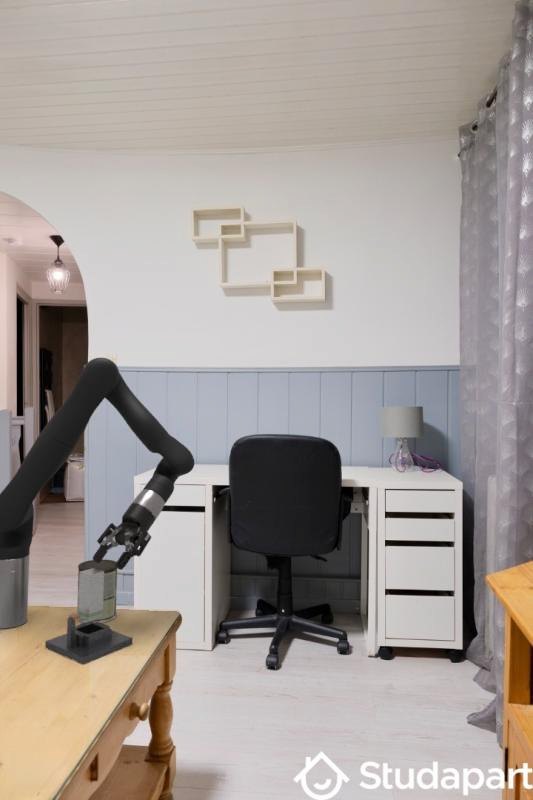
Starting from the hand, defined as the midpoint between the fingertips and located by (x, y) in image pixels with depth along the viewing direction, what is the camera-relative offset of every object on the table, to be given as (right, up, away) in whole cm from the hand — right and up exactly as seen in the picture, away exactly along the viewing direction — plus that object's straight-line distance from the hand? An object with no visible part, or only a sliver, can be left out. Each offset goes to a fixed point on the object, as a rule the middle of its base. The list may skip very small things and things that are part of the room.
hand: (106, 564), depth 139 cm
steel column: (-3, -12, -4) cm, 12 cm away
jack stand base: (-3, -18, -4) cm, 19 cm away
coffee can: (-7, -19, +15) cm, 25 cm away
